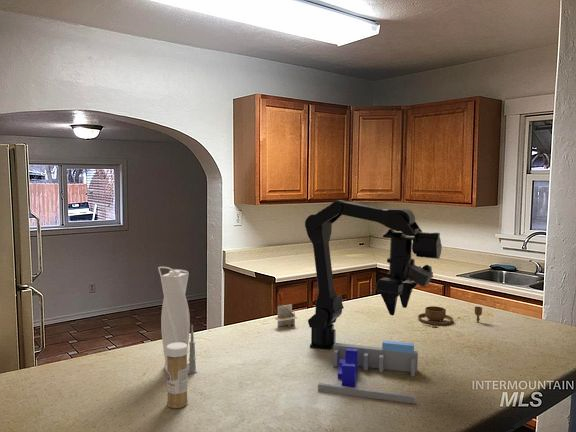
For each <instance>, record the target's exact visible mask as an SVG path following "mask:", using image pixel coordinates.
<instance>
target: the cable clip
mask: <svg viewBox="0 0 576 432" xmlns="http://www.w3.org/2000/svg"><path fill="white" fill-rule="evenodd" d="M357 356H358V349H348V348H346V353H345V359H340V362H339V364H338V371H337V379H338V380H341V386H347V387H354V388H356V382H357V375H358V366H357Z"/></svg>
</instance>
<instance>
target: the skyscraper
mask: <svg viewBox="0 0 576 432" xmlns="http://www.w3.org/2000/svg"><path fill="white" fill-rule="evenodd" d="M157 269H158V273H159V275H160V281H161V288H162V292H163V300H162V306H161V319H160V322H161V323H160V324H161V325H160V326H161V327H160V329H161V338H162V339H161V341H162V349H163V355H164V365H163V369H164V371H165V373H166V374H167V355H166V347H167V345H169V344H171V343H177V342H181V343H185V344H187V348H189V358H188V362H187V376H188V375H193V374H197V373H198V371H197V367H196V366H197V365H196V360H197V357H196V347H195V346H196V341H195V337H194V332H195V331H193V330H194V329H193V328H194V325H193V324H191V322H190V320H191V319H190V318H191V317H190V309H189V305H188V300H187V296H186V293H187V287H188V281H189V275H190V274H189V270H185V269H179V268H171V267H169V266H158V268H157ZM161 269H168V270H169V272H168V273H164V274H162V271H161ZM190 328H191V329H190ZM189 340H190V341H189Z"/></svg>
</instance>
